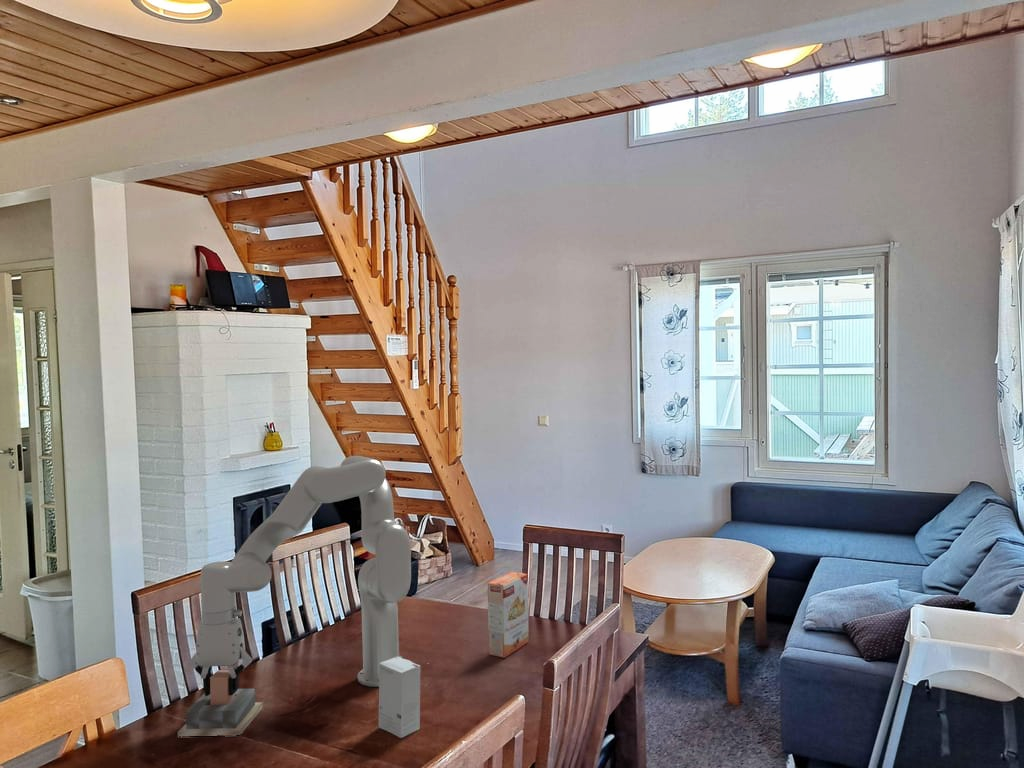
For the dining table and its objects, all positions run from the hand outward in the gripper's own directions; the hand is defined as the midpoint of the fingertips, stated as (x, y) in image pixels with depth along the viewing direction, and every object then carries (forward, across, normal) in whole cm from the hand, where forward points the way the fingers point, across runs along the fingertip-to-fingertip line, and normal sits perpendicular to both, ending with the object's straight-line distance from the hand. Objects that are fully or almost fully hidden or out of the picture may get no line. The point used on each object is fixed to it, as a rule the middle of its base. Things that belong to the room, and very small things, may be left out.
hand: (221, 692), depth 163 cm
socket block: (+7, 0, 0) cm, 7 cm away
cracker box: (+7, -67, -41) cm, 79 cm away
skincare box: (+7, -43, +5) cm, 44 cm away
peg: (+6, 0, 0) cm, 6 cm away
